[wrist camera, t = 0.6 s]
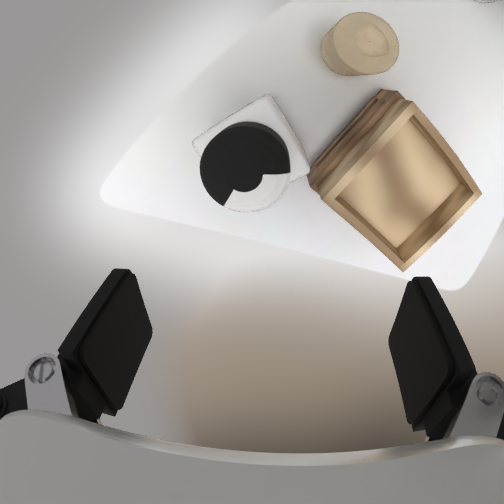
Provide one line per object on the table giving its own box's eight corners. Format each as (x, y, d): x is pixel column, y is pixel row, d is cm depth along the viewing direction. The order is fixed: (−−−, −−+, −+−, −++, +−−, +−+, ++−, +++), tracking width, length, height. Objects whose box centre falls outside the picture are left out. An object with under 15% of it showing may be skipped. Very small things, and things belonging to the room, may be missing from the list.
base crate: (379, 87, 27) (395, 89, 23) (450, 167, 30) (470, 181, 26) (304, 170, 33) (308, 185, 29) (381, 238, 36) (392, 259, 32)
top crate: (398, 98, 23) (412, 101, 20) (465, 181, 26) (482, 193, 23) (317, 186, 29) (321, 199, 26) (393, 254, 32) (402, 272, 29)
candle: (380, 54, 25) (418, 47, 16) (347, 85, 27) (375, 87, 19) (343, 19, 23) (367, -4, 15) (309, 50, 26) (321, 36, 17)
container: (208, 129, 31) (168, 157, 20) (269, 92, 29) (262, 97, 18) (246, 184, 35) (228, 240, 23) (305, 152, 32) (319, 194, 21)
